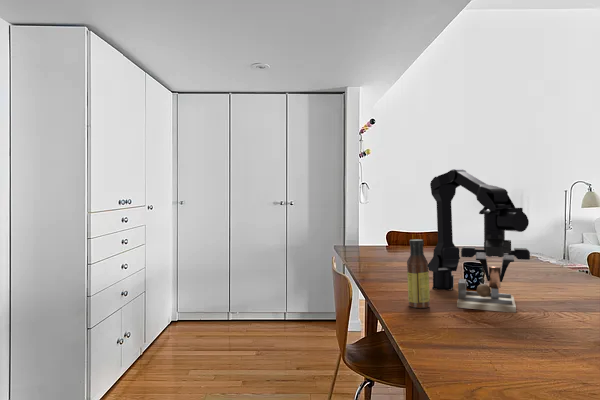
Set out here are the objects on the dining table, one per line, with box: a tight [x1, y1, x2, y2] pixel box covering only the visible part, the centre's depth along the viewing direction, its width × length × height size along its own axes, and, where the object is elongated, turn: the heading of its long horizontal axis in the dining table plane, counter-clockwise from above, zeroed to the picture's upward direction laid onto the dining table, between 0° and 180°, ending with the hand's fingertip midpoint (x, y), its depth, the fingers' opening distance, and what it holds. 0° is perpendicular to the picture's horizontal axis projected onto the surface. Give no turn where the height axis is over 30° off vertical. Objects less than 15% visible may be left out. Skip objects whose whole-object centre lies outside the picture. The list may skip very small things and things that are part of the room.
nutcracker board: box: [456, 278, 517, 314], centre depth 135 cm, size 16×16×6 cm
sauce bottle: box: [406, 238, 431, 309], centre depth 132 cm, size 6×6×20 cm
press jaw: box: [488, 265, 502, 299], centre depth 134 cm, size 3×6×10 cm, turn 157°
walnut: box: [476, 283, 491, 297], centre depth 136 cm, size 4×4×4 cm
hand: (494, 281), depth 134 cm, fingers closed on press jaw, 3 cm apart
